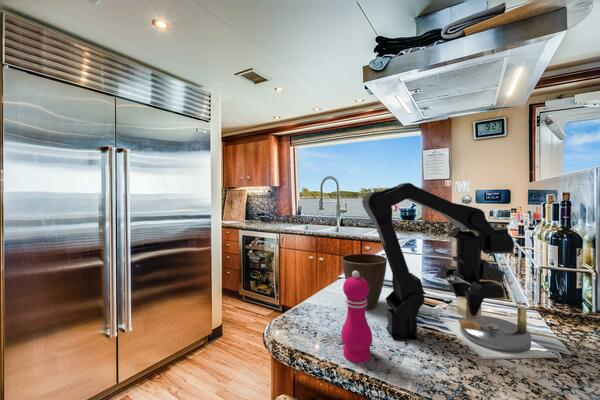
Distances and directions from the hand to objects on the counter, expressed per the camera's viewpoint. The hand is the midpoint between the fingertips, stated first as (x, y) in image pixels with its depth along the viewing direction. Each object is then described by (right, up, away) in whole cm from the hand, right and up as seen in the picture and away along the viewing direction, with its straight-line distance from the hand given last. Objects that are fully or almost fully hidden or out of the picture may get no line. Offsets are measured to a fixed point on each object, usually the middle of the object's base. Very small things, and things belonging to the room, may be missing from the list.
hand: (468, 312), depth 75 cm
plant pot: (-23, -6, +20) cm, 31 cm away
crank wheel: (+4, -6, -3) cm, 8 cm away
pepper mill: (-32, -7, -9) cm, 34 cm away
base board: (+4, -6, -3) cm, 8 cm away
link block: (0, -1, 0) cm, 1 cm away
